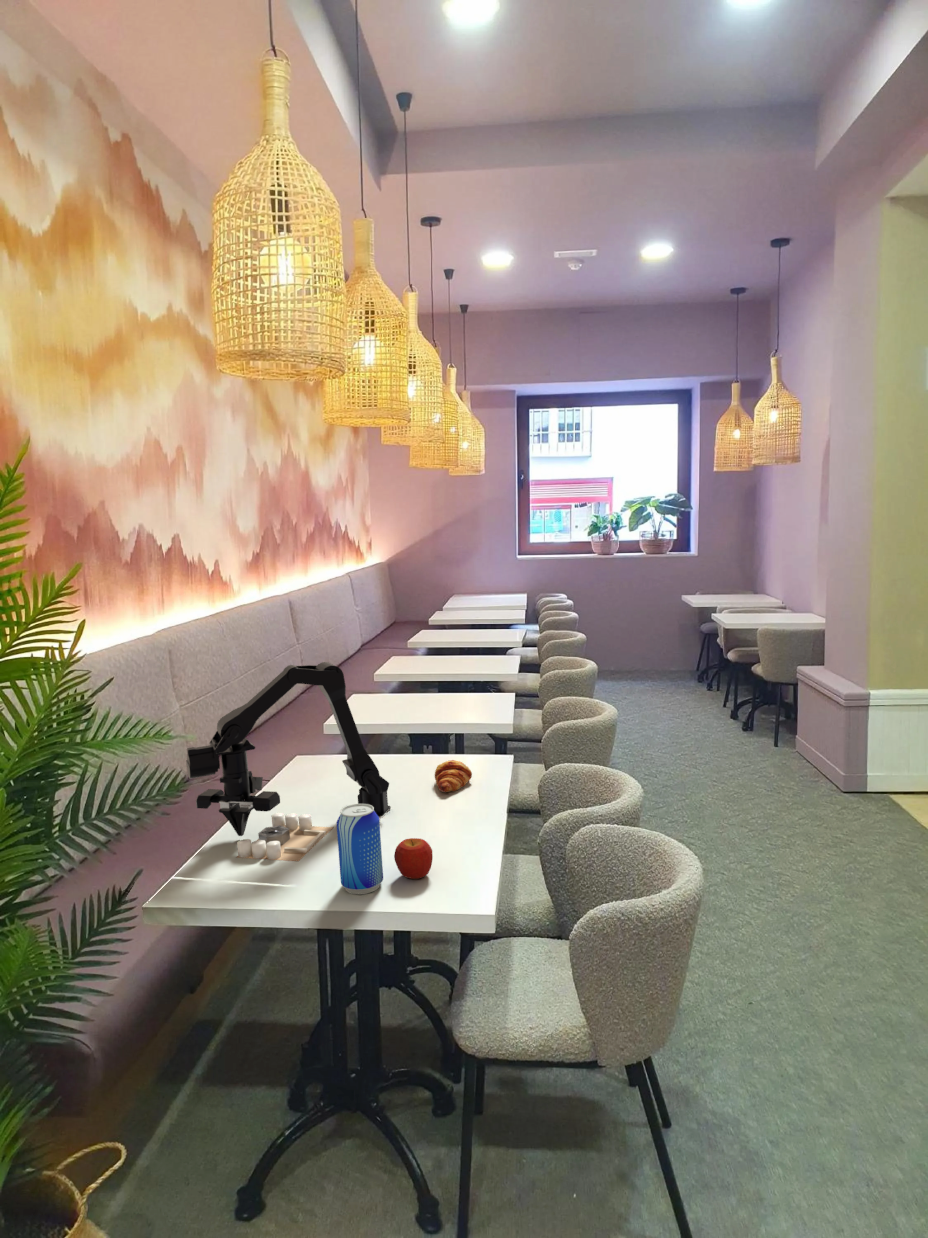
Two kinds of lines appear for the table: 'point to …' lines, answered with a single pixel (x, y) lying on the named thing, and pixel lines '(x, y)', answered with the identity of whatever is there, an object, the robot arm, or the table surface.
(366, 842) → the beer can
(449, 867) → the table surface
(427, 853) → the apple
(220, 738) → the robot arm
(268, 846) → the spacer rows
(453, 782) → the croissant
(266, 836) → the nut
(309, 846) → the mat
